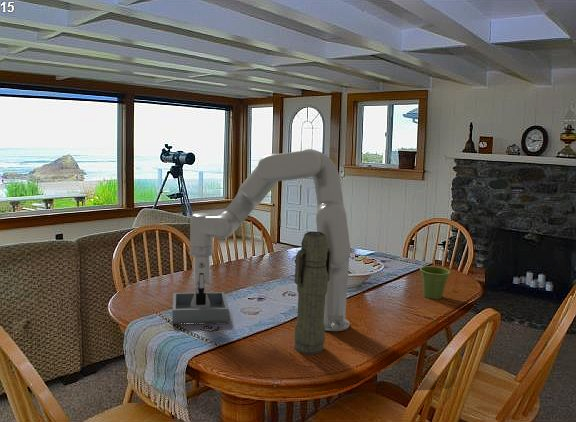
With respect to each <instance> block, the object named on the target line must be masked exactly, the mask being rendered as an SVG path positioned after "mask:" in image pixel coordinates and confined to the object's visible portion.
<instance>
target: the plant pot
mask: <svg viewBox="0 0 576 422" xmlns="http://www.w3.org/2000/svg"><path fill="white" fill-rule="evenodd" d="M419 270H420V272H421V277H422V281H421V282H422V292H423V297H425V298H427V299H433V300H440V299H442V297H443V294H444V290H445V288H446V287H445V286H446V284H447V280H448V278H449V275H450V274H451V271H450V270H449V269H447V268H444V267H440V266H432V265H430V266H429V265H428V266H425V265H424V266H421V267H419Z"/></svg>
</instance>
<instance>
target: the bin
mask: <svg viewBox="0 0 576 422" xmlns="http://www.w3.org/2000/svg"><path fill="white" fill-rule="evenodd" d="M206 293H207V296H208V299H209V301H210V304H211V306H210V308H201V309H192V308H190V305H191V302H192V299H193V297H194V294H195V292H173V293H172V295H173V296H172V317H171V318H172V324H181V323H182V324H184V323H185V324H186V323H194V324H193V325H200V324H199V323H205V324H204V325H212V324H211V323H226V324H229V310H230V309H229V305H228V300H227V297H226V295H225V292H224V291H222V292H221V291H220V292H216V291H215V292H209V291H208V292H207V291H206ZM195 323H196V324H195ZM197 323H198V324H197ZM206 323H208V324H206ZM209 323H210V324H209ZM172 324H171V325H172Z"/></svg>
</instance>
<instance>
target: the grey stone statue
mask: <svg viewBox="0 0 576 422" xmlns="http://www.w3.org/2000/svg"><path fill="white" fill-rule="evenodd" d="M330 268H331V250H330V248H328V242H327V239H326V235H325V234H323V233H322V232H317V231H307V232H305V233H304V235H303V237H302V241H301V248H300V249H299V250H297V253H296V255H295V267H294V269H295V271H294V283H295V284H296V285H297V286H296V287H297V288H296V290H297V293H298V296H297V297H298V298H297V313H296V315H297V316H296V323H295V325H294V335H293V336H294V339H293V340H294V346H293V347H294V350H295V351H297V352H299V353H301V354H303V355H304V354H305V355H317V354H319V353H322V352H323V351H324V343H325V339H326V338H325V337H326V334H325V333H326V331H325V326H324V308H325V295H326V293H327V285H328V281H329V279H330Z"/></svg>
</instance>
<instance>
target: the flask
mask: <svg viewBox="0 0 576 422" xmlns="http://www.w3.org/2000/svg"><path fill="white" fill-rule="evenodd" d="M198 284H200V283H198ZM203 284H204V283H203ZM199 287H200V286H199ZM206 292H207V290H206V289H205V293H206ZM194 293H195V294H194V297H193V299H192V302H191V305H190V308H192V309H201V308H210V306H211V304H210V301H209V299H208V296H207V293H206V304H205V305H196V293H197V287H195V291H194Z"/></svg>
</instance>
